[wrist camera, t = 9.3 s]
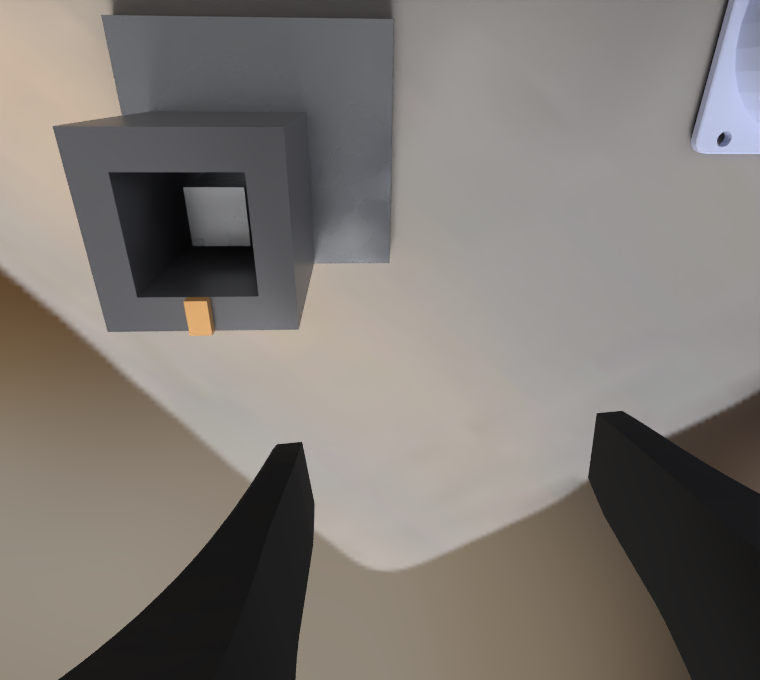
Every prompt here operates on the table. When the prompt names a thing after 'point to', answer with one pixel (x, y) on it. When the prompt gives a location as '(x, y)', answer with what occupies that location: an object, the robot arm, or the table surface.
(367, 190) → the plate
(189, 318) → the hollow square housing
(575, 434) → the table surface
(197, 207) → the grey square post
